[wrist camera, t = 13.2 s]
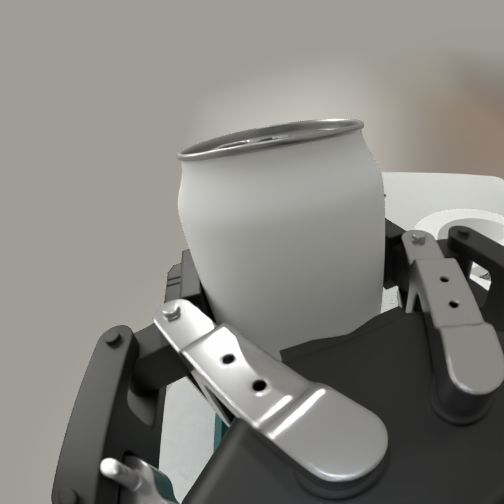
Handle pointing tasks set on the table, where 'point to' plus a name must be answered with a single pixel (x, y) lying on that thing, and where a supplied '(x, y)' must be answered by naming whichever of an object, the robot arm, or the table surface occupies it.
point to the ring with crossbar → (478, 220)
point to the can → (286, 229)
